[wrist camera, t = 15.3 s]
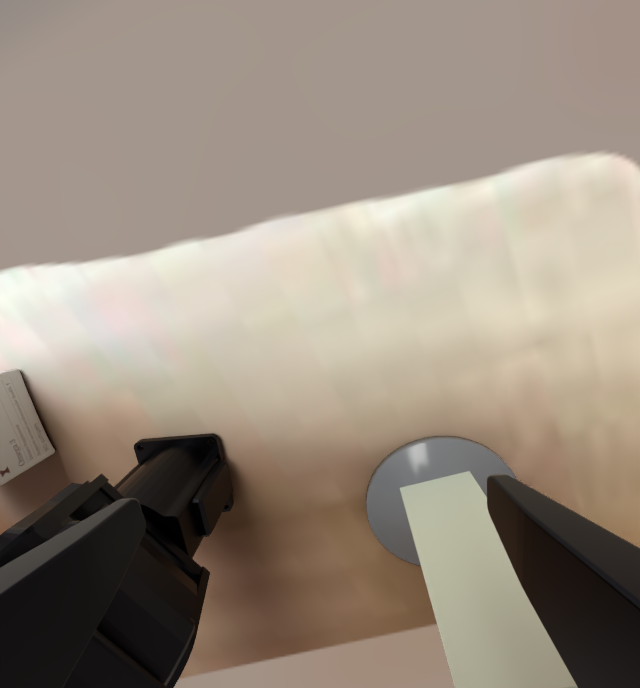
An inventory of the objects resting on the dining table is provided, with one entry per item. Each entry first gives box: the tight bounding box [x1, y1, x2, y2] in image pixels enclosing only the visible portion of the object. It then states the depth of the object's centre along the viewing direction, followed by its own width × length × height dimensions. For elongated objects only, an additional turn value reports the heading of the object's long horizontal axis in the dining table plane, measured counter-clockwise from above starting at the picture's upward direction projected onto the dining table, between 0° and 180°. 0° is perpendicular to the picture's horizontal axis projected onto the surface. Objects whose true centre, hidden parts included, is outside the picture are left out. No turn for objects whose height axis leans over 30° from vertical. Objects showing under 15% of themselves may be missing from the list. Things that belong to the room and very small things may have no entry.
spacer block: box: [400, 471, 578, 688], centre depth 16 cm, size 5×5×11 cm
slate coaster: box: [366, 436, 517, 566], centre depth 22 cm, size 11×11×1 cm
